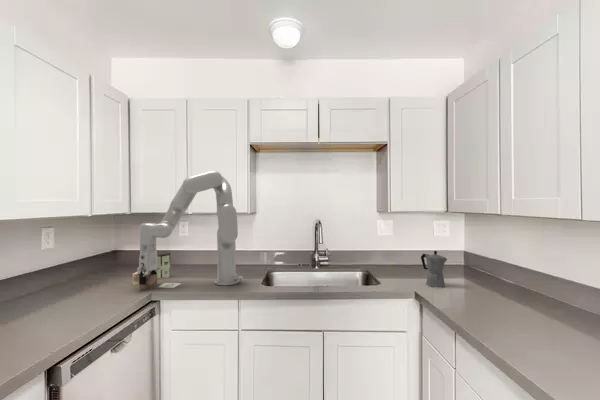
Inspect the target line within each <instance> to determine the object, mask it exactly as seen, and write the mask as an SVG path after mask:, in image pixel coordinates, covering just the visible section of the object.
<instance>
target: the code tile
mask: <svg viewBox="0 0 600 400" xmlns="http://www.w3.org/2000/svg"><path fill="white" fill-rule="evenodd" d="M179 285H182V283H180V282H179V283H177V282H164V283H162V284H160V285H158V286H159V287H158V288H167V289H169V288H170V289H174V288H176V287H178V286H179Z"/></svg>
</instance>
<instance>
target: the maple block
mask: <svg viewBox="0 0 600 400" xmlns="http://www.w3.org/2000/svg"><path fill="white" fill-rule="evenodd" d="M143 273H144V272H143ZM146 274H149V272H146ZM132 285H133V286H139V276H138V272H137V271H136V272H134V273H132Z"/></svg>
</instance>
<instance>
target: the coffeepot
mask: <svg viewBox="0 0 600 400" xmlns="http://www.w3.org/2000/svg"><path fill="white" fill-rule="evenodd" d="M420 259H421V263H422V266H423V269H424V270H428V273H427V278H426V282H425V285H426V286H427V285H428V286H427V287H429V286H432V287H431V288H435V287H442V288H444V287H445V286H446V284H445V278H444V273H443V270H444V267H445V263H446V262H447V261H448V258H446V257H445V256H443V255H440V254H438V251H437V250H434V251H433V254H427V253H422V254H421V256H420ZM425 260H426V262H425ZM426 265H427V267H426Z"/></svg>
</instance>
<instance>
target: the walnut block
mask: <svg viewBox="0 0 600 400" xmlns="http://www.w3.org/2000/svg"><path fill="white" fill-rule="evenodd" d="M145 276H146V284H145V285H140V284H139V285H138V287H139V289H153V288H155V287H157V286H158V279H157V274H150V273H148V274H146V275H145ZM157 288H158V287H157ZM155 289H156V288H155ZM153 290H154V289H153Z"/></svg>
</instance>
